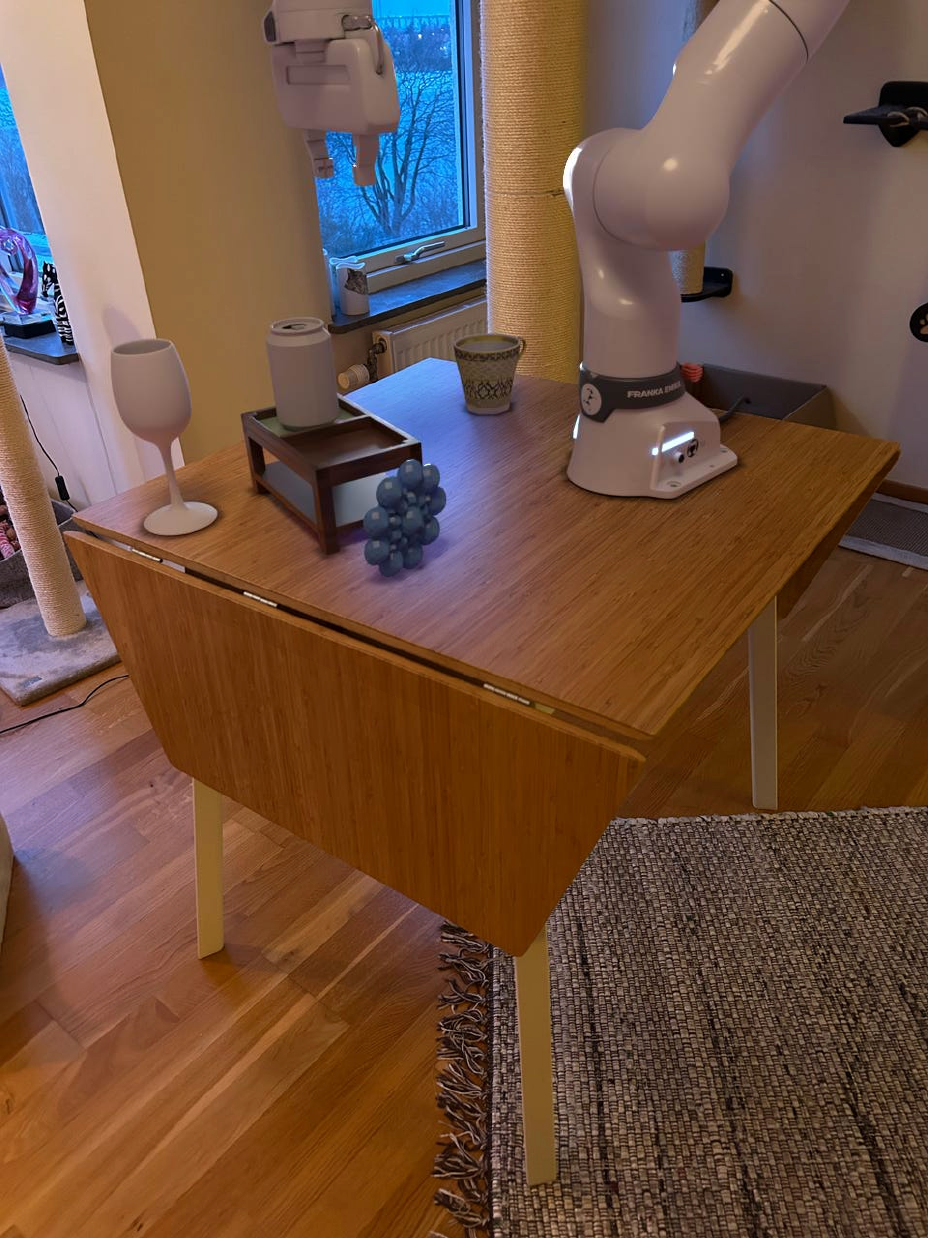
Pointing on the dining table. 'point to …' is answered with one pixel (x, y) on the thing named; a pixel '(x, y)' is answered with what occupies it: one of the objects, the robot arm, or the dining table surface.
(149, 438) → the wineglass
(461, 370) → the ceramic cup
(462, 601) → the dining table surface
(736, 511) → the dining table surface
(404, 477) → the grapes
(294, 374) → the can
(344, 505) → the tray
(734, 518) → the dining table surface
